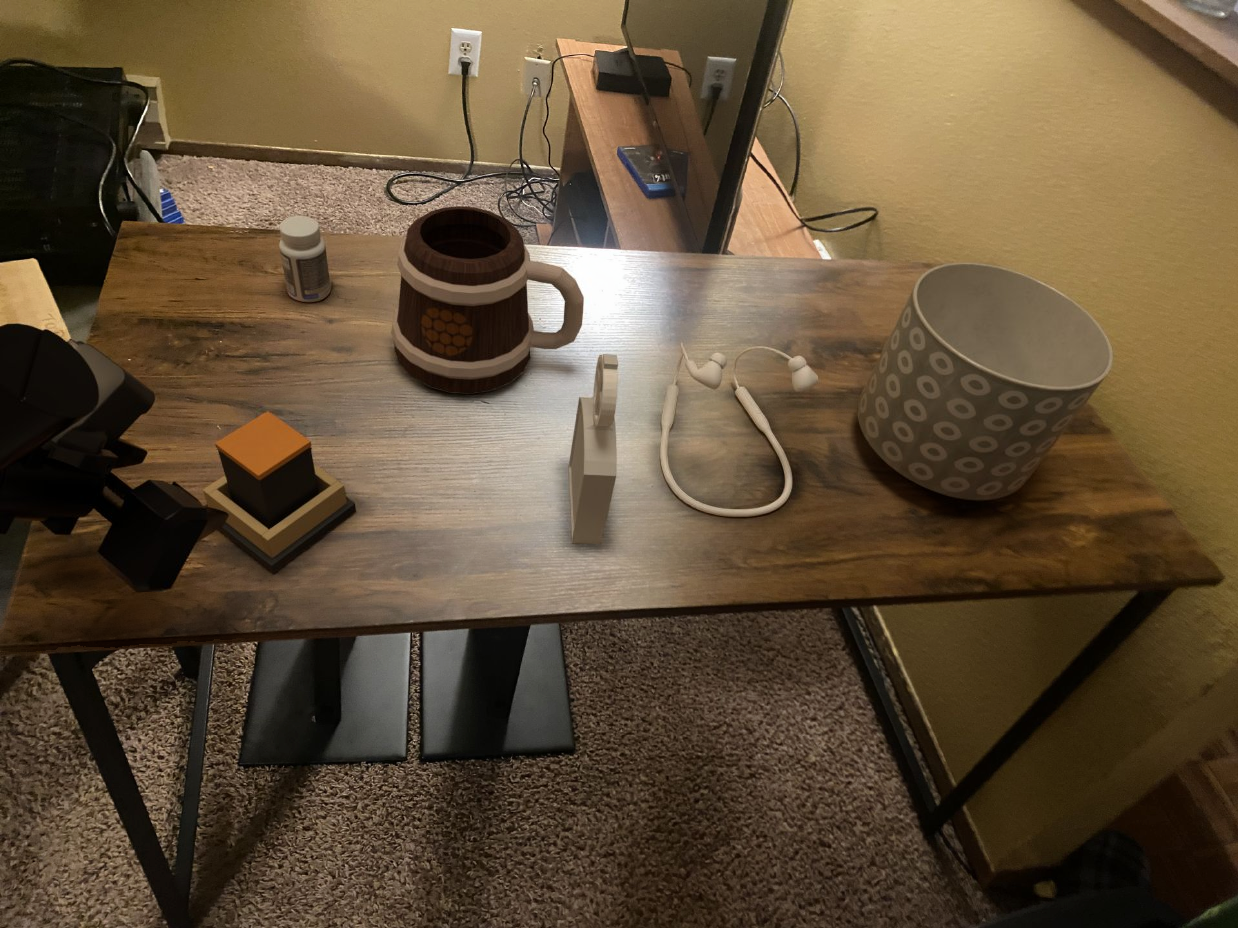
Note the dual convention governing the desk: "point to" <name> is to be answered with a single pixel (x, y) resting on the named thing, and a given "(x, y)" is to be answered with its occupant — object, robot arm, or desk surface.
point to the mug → (472, 301)
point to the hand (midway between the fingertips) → (183, 487)
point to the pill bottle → (304, 259)
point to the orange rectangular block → (268, 469)
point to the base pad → (283, 522)
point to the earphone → (712, 379)
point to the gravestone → (594, 456)
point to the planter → (980, 379)
